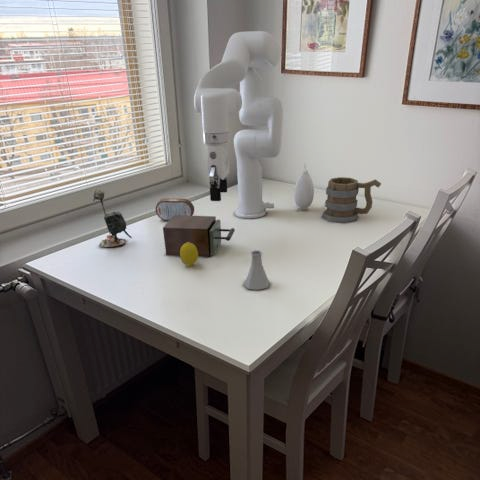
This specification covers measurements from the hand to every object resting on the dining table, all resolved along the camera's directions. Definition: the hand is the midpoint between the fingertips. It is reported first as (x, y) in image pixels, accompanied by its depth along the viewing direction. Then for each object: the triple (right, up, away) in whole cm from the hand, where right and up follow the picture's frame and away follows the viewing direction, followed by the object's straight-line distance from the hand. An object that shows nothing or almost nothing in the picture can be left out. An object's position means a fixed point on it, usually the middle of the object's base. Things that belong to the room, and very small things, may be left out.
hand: (219, 196), depth 146 cm
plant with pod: (-37, -12, +17) cm, 43 cm away
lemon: (-9, -22, 0) cm, 24 cm away
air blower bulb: (+32, +6, +44) cm, 55 cm away
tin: (-19, 0, +37) cm, 41 cm away
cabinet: (-10, -15, +11) cm, 21 cm away
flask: (+11, -29, -13) cm, 34 cm away
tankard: (+49, 0, +33) cm, 59 cm away
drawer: (-5, -14, +10) cm, 18 cm away
